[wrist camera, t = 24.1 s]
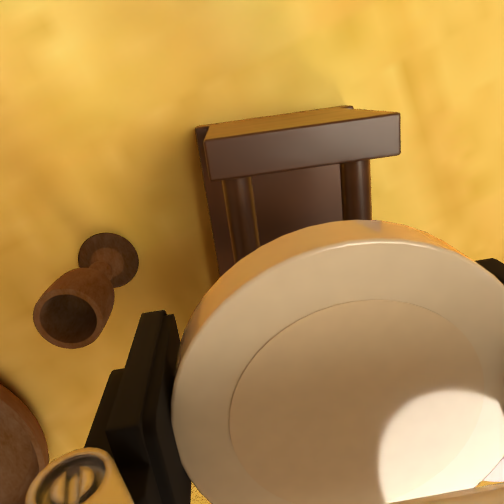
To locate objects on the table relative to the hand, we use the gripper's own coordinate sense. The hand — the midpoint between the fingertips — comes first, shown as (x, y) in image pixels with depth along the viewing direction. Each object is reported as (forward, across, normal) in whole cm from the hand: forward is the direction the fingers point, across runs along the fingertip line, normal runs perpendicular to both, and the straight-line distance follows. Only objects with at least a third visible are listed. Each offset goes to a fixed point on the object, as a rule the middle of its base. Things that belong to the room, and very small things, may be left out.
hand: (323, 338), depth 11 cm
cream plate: (-2, 0, 0) cm, 2 cm away
